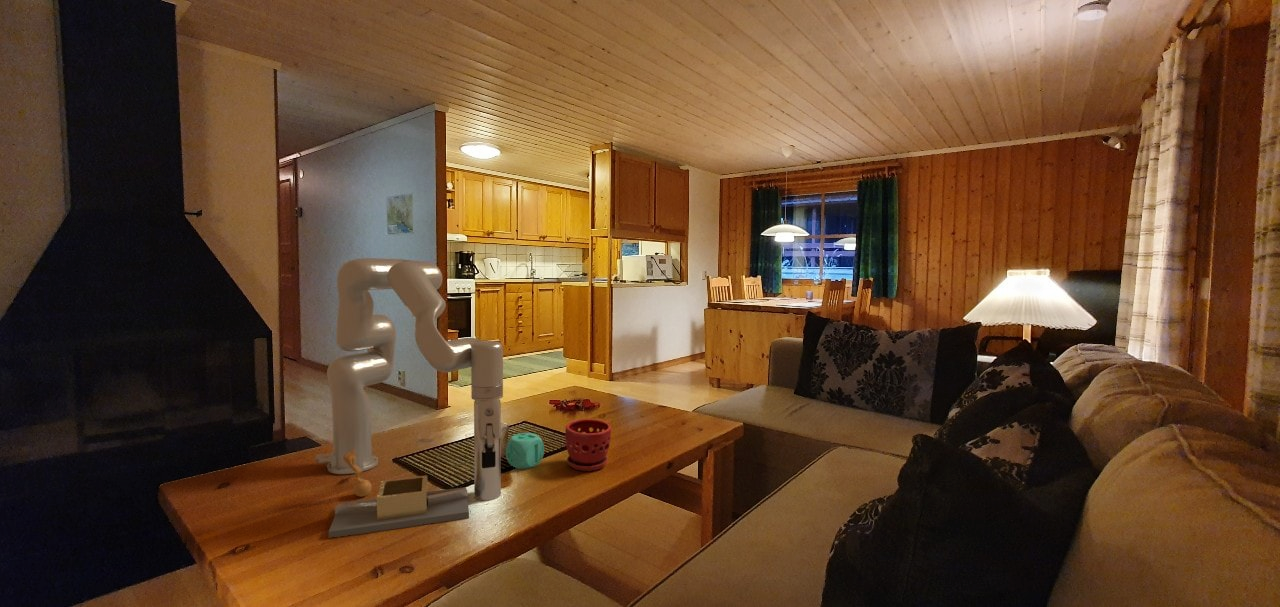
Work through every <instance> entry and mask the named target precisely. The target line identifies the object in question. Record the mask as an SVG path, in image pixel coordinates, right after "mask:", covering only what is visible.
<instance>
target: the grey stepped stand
mask: <svg viewBox="0 0 1280 607" xmlns="http://www.w3.org/2000/svg"><path fill="white" fill-rule="evenodd" d="M377 492H378V493H377V497H376V498H377V502H375V503H354V504H340V503H338V504H336V506H334V515H335V514H354V513H374V512H377V521H379V520H386V519H393V518H400V517H407V516H415V515H422V514H427V504H428V505H433V504H437V503H442V502H447V501H451V500H456V499H460V498H465V497H467V498H468V490H467V487H466V488H464V489H459V490H454V491H449V492H445V493H440V494H435V495H430V496H427V492H428V475H420V476H419V475H418V476H412V477H411V476H410V477H402V478H394V479H385V480H381V481H380V485H379V489H378V491H377Z"/></svg>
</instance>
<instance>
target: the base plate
mask: <svg viewBox="0 0 1280 607" xmlns="http://www.w3.org/2000/svg"><path fill="white" fill-rule="evenodd" d="M464 488H466V489H467V487H465V486H464V487H456V488H448V489H441V490H433V491H427V496H430V495H435V494H440V493H445V492H449V491H454V490H459V489H464ZM375 502H377V497H376V498H370V499H363V500H362V499H361V500H355V501H354V500H353V501H346V502H345V501H344V502H340V503H339V504H354V503H375ZM469 510H470V509H469V502H468V496H467V497H465V498H460V499H456V500H451V501H447V502H442V503H437V504H433V505H428V504H427V514H422V515H415V516H407V517H400V518H393V519H386V520H379V521H377V512H374V513H354V514H335V513H334V517H333V520H332V522H331V525H330V526H329V527H330V528H329V530H328V539H329V538H330V539H332V538H331V537H337V538H342V537H341V536H344V537H349V536H348V535H351V536H355V535H364V534H368V533H369V534H370V533H376V532H377V533H378V532H384V531H390V530H397V529H403V528H405V529H406V528H410V527H419V526H424V525H425V524H426V525H432V524H431V523H433V524H437V523H438V524H439V523H444V522H446V523H447V522H452V521H458V520H467V519H469V518H470V511H469ZM423 524H424V525H423ZM418 525H419V526H418Z"/></svg>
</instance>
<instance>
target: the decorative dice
mask: <svg viewBox="0 0 1280 607" xmlns="http://www.w3.org/2000/svg"><path fill="white" fill-rule="evenodd" d="M544 454H545V445H544V441H543V440H542V438H541V437H540V435H539V434H536V433H531V432H523V433H521V432H520V433H516V434H514V435H512V436H511V437H510V438H509V439H508V441H507V443H506V446H505V457H506V460H507V462H508V464H509V465H510V466H511V467H512V466H513V468H514V467H515V469H517V470H518V469H519V470H528V469H532V467H533V468H535V467H537V466H538V465H539V464H541V461H542V459H543V457H544Z"/></svg>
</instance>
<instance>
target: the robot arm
mask: <svg viewBox="0 0 1280 607" xmlns="http://www.w3.org/2000/svg"><path fill="white" fill-rule="evenodd" d="M442 284H443V274H442V270H441V269H440V268H439V267H438V266H437V265H436V264H435V263H433V262H430V261H426V260H425V261H422V260H421V261H419V260H410V259H404V258H403V259H401V258H378V257H377V258H375V257H374V258H373V257H372V258H370V257H366V258H365V257H363V258H355V259H350V260H348V261H346V262H344V263H343V264H342V266H341V267H340V268H339V270H338V273H337V277H336V287H337V293H338V307H337V308H338V309H337V320H336V323H337V324H336V334H335V335H336V339H335V340H336V343H337V344H336V345H337V346H338V348H339V349H340V350H342V351H345V352H358V351H366V350H367V351H366V352H361V353H353V354H349V355H344V356H341V357H337V358H336V359H334V360H333V361H331V362H330V364H329V365H328V367H327V370H326V377H327V382H328V385H329V390H330V395H331V406H332V408H331V410H332V441H333V447H332V448H333V450H332V451H331V452H329V453H325V454H324V453H322V454H319V453H318V454H316V455H315V462H316V463H317V462H318V464H326V463H328V464H327V465H326V466H327V471H328V472H329V473H331V474H333V475H350V474H355V473H356V472H354V471H353V470H352V468H351V467H349V465H348V464H347V463H346V462H345V461H344V459H343V456H344V455H345V454H347V453H349V452H351V451H352V450H355V452H356V454H355V455H354V456H355V465H356V466H358V467H359V468H361V471H362V472H365V471H368V470H370V469H371V470H372V469H373V468H374V467H376V466H377V465H378V463H379V458H378V456H376V455H375V454H373V446H372V444H373V442H372V440H373V439H372V435H373V434H372V403H371V399H370V398H369V396H368V394H367V392H366V391H365V389H364V388H365V387H369V386H373V385H376V384H379V383H383V382H385V381H387V380H388V379H390V377H391V375H392V372H393V370H394V364H395V363H394V362H395V351H396V341H397V339H396V338H397V332H396V331H397V330H396V327H395V324H394V323H393V321H392V319H391V318H390V317H388V316H387V315H383V314H374V305H375V304H374V300H373V297H372V294H371V293H370V291H375V290H378V291H379V290H382V291H383V290H393V291H394V293H395V294H396V296H398V298H399V300H401V302H402V303H403V305H404V306H405V307H406V309H407V310H408V311H409V313H410V314H411V316H412V317H413V318H414V320H415V323H414V337H415V338H414V339H415V343H416V345H417V348H418V350H419V351H420V354H421V355H423V358H425V360H426V361H427V362H428V363H429V365H430V366H431V367H432V368H433V369H435V370H436V371H438V372H440V373H444V374H445V373H446V374H447V373H451V372H455V371H459V370H464V369H469V368H470V370H471V372H470V374H471V375H470V376H471V382H470V384H471V386H470V387H471V389H470V390H471V393H470V394H471V400H473V401H475V400H477V401H478V428H479V436H480V440H482V441H483V452H482V468H491V467H495V466H496V451H495V439H494V435H495V437H496V438H498V439H500V438H501V437H502V434H500V405H499V399H500V400H501V399H502V398H503V397H504V347H503V344H502V343H501V342H499V341H496V340H481V339H478V338H476V337H475V338H474V337H463V338H459V339H458V338H456V339H451V340H445V338H444V337H443V335H442V334H441V333H440V331H439V330H438V328H437V326H436V323H435V320H437V319H438V318H439V316H441V315H442V314H443V313H444V311H445V309H446V306H447V303H446V300H445V299H444V298H443V297H442V295H441V294H440V293H439V291H438V290H439V289H440V287H441V286H442ZM488 411H489V412H488ZM484 435H485V436H486V435H487V439H484ZM492 435H493V437H492ZM485 442H487V444H486V445H485Z"/></svg>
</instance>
